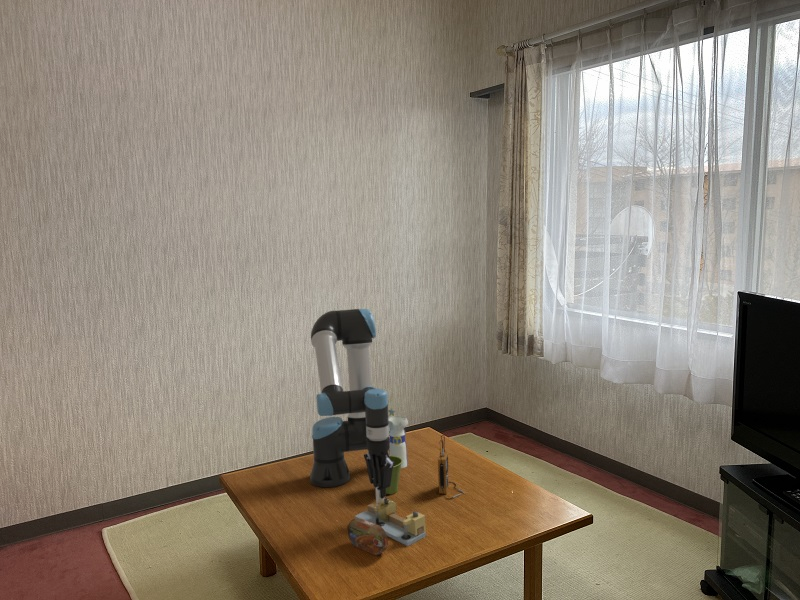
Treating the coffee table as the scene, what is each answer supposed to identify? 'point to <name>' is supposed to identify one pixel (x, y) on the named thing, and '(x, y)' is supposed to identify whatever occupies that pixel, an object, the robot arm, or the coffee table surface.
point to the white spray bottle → (398, 437)
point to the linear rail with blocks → (398, 525)
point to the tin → (367, 536)
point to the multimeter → (444, 472)
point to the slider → (384, 509)
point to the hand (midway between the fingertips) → (380, 506)
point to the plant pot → (394, 475)
